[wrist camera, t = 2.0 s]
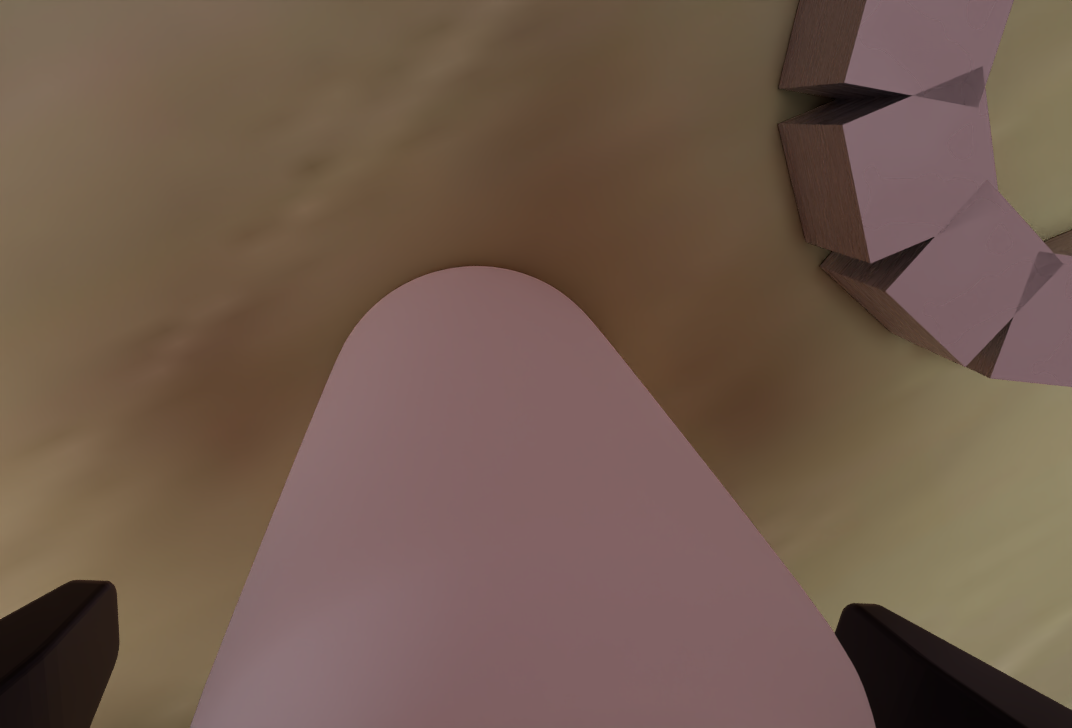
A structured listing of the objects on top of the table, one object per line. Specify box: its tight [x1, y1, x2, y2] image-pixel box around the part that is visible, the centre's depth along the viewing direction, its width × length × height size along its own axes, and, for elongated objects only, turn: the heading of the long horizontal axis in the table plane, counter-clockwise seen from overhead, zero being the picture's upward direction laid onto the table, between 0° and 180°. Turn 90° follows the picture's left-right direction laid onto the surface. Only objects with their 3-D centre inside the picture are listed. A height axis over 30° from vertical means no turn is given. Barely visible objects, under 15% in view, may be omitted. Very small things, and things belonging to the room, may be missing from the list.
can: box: [190, 266, 876, 728], centre depth 10 cm, size 6×6×12 cm
